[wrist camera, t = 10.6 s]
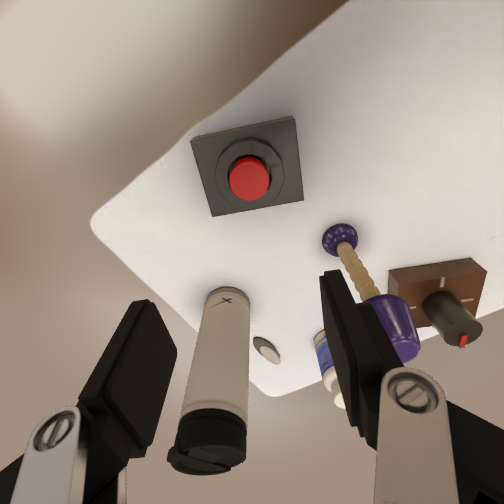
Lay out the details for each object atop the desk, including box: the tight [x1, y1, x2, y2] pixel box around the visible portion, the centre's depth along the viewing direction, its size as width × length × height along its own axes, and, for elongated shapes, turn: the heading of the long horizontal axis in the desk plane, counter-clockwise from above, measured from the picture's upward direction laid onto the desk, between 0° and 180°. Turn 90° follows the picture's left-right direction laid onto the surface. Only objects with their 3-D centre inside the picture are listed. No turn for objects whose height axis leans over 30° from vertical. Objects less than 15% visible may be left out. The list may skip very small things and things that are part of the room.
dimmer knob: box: [422, 291, 483, 348], centre depth 34 cm, size 4×4×5 cm
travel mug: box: [167, 287, 250, 475], centre depth 32 cm, size 6×7×20 cm
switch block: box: [190, 116, 304, 217], centre depth 29 cm, size 10×8×4 cm
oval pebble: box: [253, 338, 280, 365], centre depth 44 cm, size 6×2×1 cm, turn 38°
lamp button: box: [229, 157, 269, 201], centre depth 27 cm, size 4×4×2 cm
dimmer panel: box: [388, 258, 487, 328], centre depth 37 cm, size 10×8×3 cm
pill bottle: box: [314, 330, 346, 409], centre depth 39 cm, size 5×5×10 cm
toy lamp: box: [322, 224, 420, 363], centre depth 28 cm, size 5×5×17 cm
